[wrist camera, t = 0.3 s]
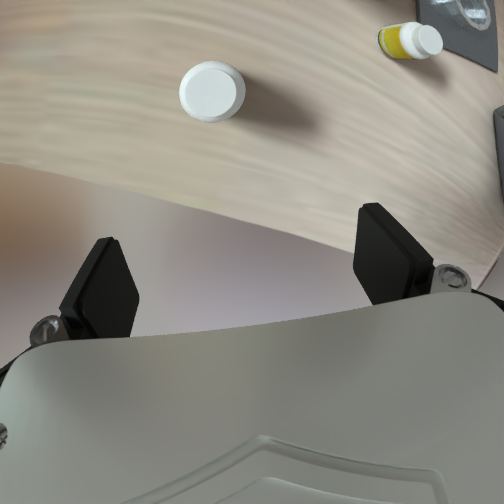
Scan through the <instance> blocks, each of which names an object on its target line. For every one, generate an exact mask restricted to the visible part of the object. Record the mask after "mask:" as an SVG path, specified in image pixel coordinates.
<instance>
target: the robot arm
mask: <svg viewBox="0 0 504 504" xmlns="http://www.w3.org/2000/svg"><path fill="white" fill-rule="evenodd" d="M433 260H434V259H433V258H432V257H431V256H430V254H429V253H428V252H427V251H426V250H425V249H424V248H423V247H422V246H421V245H420V244H419V243H418V242H417V241H416V239H415V238H414V237H413V236H412V235H411V234H410V233H409V232H408V231H407V230H406V229H405V228H404V227H403V226H402V225H401V224H400V223H399V222H398V221H397V220H396V219H395V218H394V217H393V216H392V215H391V214H390V213H389V212H388V211H387V210H386V209H385V208H383V207H382V206H381V205H380V204H379V203H378V202H377V203H366V204H364V205H363V207H362V208H360V209H359V212H358V224H357V234H356V244H355V253H354V261H353V270H354V273H355V275H356V276H357V278H358V280H359V282H360V283H361V285H362V287H363V288H364V290H365V292H366V294H367V296H368V297H369V299H370V301H371V303H372V305H373V306H368V307H364V308H358V309H353V310H347V311H342V312H337V313H332V314H325V315H319V316H313V317H307V318H301V319H294V320H288V321H281V322H274V323H268V324H260V325H253V326H245V327H237V328H229V329H220V330H211V331H202V332H191V333H180V334H168V335H156V336H142V337H130V334H131V330H132V326H133V322H134V318H135V315H136V311H137V307H138V304H139V293H138V290H137V288H136V286H135V283H134V281H133V278H132V276H131V273H130V271H129V268H128V265H127V263H126V260H125V257H124V255H123V252H122V249H121V247H120V244H119V242H118V240H114V238H113V237H107V238H101V239H98V240H97V242H96V243H95V245H94V247H93V248H92V250H91V251H90V253H89V255H88V256H87V258H86V260H85V262H84V263H83V265H82V267H81V268H80V270H79V272H78V274H77V275H76V277H75V279H74V280H73V282H72V284H71V286H70V288H69V290H68V292H67V293H66V295H65V297H64V299H63V301H62V303H61V305H60V307H59V309H60V311H61V316H60V317H58V316H55V315H51V316H47V317H45V318H43V319H41V320H40V321H39V322H37V324H36V325H35V326H34V327H33V329H32V330H31V333H30V336H29V337H30V344H31V347H29V348H28V349H27V350H25V351H24V352H23V353H21V354H20V355H19V356H17V357H16V358H15V359H13V360H12V361H11V362H9V363H8V364H7V365H5V366H4V367H3V368H1V369H0V504H504V301H503V300H500V299H497V298H495V297H492V296H490V295H487V294H484V293H482V292H479V291H476V290H474V289H471V279H470V277H469V275H468V274H467V273H466V272H465V271H464V270H462V269H461V268H459V267H457V266H454V265H450V264H442V265H439V266H437V267H436V268H435V267H434V265H433Z"/></svg>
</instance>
